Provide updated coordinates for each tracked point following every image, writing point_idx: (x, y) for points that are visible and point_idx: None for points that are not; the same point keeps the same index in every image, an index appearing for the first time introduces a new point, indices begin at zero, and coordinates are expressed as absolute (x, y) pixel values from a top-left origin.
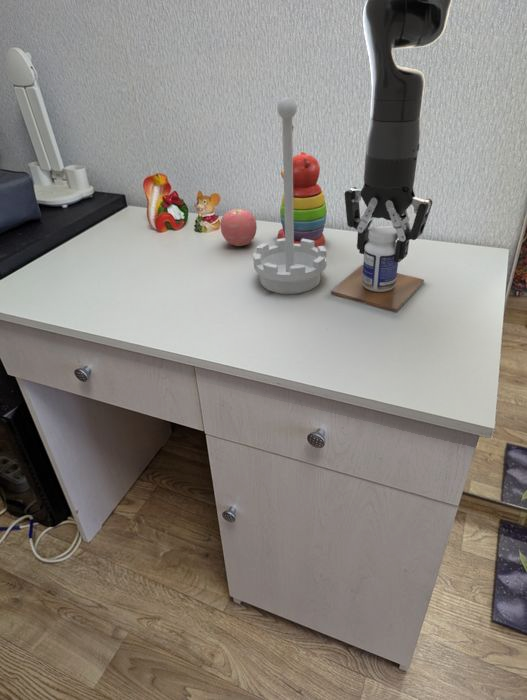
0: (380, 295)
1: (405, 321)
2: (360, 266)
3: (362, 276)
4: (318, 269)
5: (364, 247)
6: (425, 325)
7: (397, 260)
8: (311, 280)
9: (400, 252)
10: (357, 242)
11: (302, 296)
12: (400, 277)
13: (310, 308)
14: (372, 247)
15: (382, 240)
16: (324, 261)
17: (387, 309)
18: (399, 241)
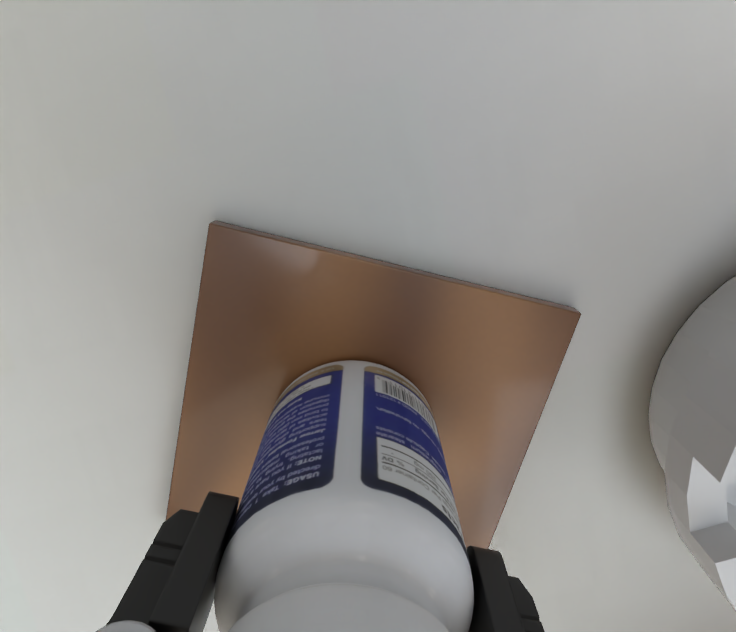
0: (321, 338)
1: (148, 147)
2: None
3: None
4: (723, 379)
5: (474, 590)
6: (46, 138)
7: (214, 496)
8: (717, 342)
9: (184, 550)
10: (539, 625)
11: (722, 240)
12: None
13: (662, 124)
14: (404, 554)
15: (316, 608)
16: (705, 458)
17: (261, 233)
18: (162, 624)
